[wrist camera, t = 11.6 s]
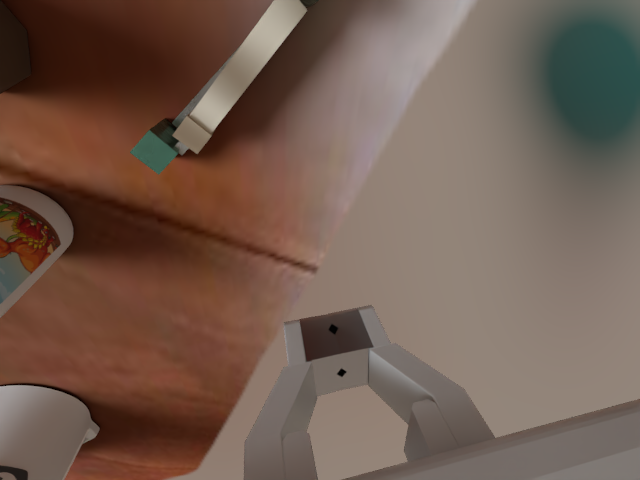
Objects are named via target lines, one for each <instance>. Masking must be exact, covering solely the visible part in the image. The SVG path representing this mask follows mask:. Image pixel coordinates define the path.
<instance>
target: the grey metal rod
mask: <svg viewBox="0 0 640 480" xmlns="http://www.w3.org/2000/svg"><path fill="white" fill-rule="evenodd" d="M241 45H242V44H241ZM241 45H240V46H241ZM240 46H239V47H240ZM238 49H239V48H238ZM238 49H237V50H238ZM237 50H236V51H235V52H234V53H233V54H232V55H231V57H230V58H229V59H228V60H227V61H226V62H225V63H224V64H223V66H222V67H221V68H220V69H219V70H218V71H217V72H216V74H215V75H214V76H213V77H212V78H211V79H210V80H209V81H208V83H207V84H206V85H205V86H204V87H203V88H202V89H201V90H200V92H199V93H198V94H197V95H196V96H195V97H194V98H193V99H192V101H191V102H190V103H189V104H188V105H187V106H186V107H185V108H184V110H183V111H182V112H181V113H180V114H179V115H178V116H177V117H176V119H175V120H174V121H173V122H172V124H173V125H174V126H176V127H177V128H178V127H179V126H180V124H181V123H182V121H183V120H184V119H185V117H186V116H187V115H188V114H189V113H190V112H191V111H192V110H193V109H194V108H195V107H196V106H197V104H198V103H199V102H200V100H201V99H202V98H203V96H204V95H205V94H206V92H207V91H208V89H209V88H210V87H211V85H212V84H213V83H214V81H215V80H216V79H217V77H218V76H219V75H220V73H221V72H222V70H223V69H224V68H225V66H226V65H227V64H228V62H229V61H230V60H231V58H232V57H233V56H234V54H235V53H236V52H237Z"/></svg>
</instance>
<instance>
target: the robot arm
mask: <svg viewBox="0 0 640 480" xmlns="http://www.w3.org/2000/svg"><path fill="white" fill-rule="evenodd" d="M299 321H300V322H299ZM284 333H285V342H286V351H287V359H288V366H287V367H284V368H283V370H282V372H281V374H280V375H279V377H278V379H277V381H276V383H275V385H274V387H273V389H272V391H271V393H270V395H269V397H268V398H267V400H266V402H265V404H264V406H263V408H262V410H261V412H260V414H259V416H258V418H257V420H256V422H255V424H254V425H253V428H252V429H251V431H250V433H249V435H248V437H247V439H246V441H245V453H244V454H245V455H244V480H318V478H317V472H316V467H315V462H314V457H313V451H312V446H311V441H310V436H309V433H307V432H306V431H307V428H308V425H309V422H310V419H311V416H312V413H313V410H314V407H315V404H316V401H317V396H320V395H324V394H328V393H331V392H336V391H339V390H343V389H348V388H353V387H358V386H363V385H369V387H370V388H371V389H372V390H373V391H374V392H375V393H376V394H378V396H380V398H382V400H383V401H385V402H386V403H387V404H388V405H389V406H390V407H391V408H392V409H393V410H394V411H395V412H396V413H397V414H398V415H399V416H400V417H401V418H402V419H403V420H404V421H405V422H406V423H407V424H408V431H407V436H406V441H405V446H404V452H405V454H406V457H407V460H408V462H405V463H402V464H398V465H394V466H390V467H387V468H383V469H380V470H376V471H372V472H368V473H365V474H361V475H358V476H354V477H350V478H346V479H343V480H640V399H638V400H634V401H631V402H627V403H623V404H619V405H616V406H612V407H608V408H605V409H601V410H597V411H594V412H590V413H587V414H583V415H579V416H575V417H571V418H568V419H564V420H560V421H557V422H553V423H549V424H546V425H542V426H538V427H535V428H531V429H527V430H523V431H520V432H516V433H512V434H509V435H505V436H501V437H498V438H495V437H494V435H493V433H492V432H491V430H490V429H489V427H488V426H487V424H486V422H485V421H484V419H483V418H482V416H481V415H480V413H479V411H478V410H477V408H476V407H475V405H474V403H473V402H472V400H471V399H470V397H469V395H468V394H467V392H466V391H465V389H464V388H462V387H461V386H459V385H458V384H456V383H454V382H453V381H452V380H450V379H449V378H447V377H446V376H444V375H443V374H441V373H440V372H438V371H437V370H435V369H433V368H432V367H431V366H429V365H428V364H426V363H425V362H423V361H422V360H420V359H419V358H417V357H416V356H414V355H413V354H411V353H410V352H408V351H406V350H405V349H404V348H402V347H401V346H399V345H398V344H396V343H392V344H391V342H390V340H389V338H388V337H387V334H386V332H385V330H384V328H383V326H382V324H381V322H380V320H379V318H378V316H377V314H376V312H375V309H374V307H373V306H372V305H368V306H364V307H359V308H353V309H349V310H344V311H339V312H334V313H330V314H327V315H321V316H315V317H309V318H304V319H300V320H294V321H288V322H284ZM99 430H100V428H99V427H98V425H96V424H95V423H94V422H93V421H92V420H91V417H90V412H89V410H88V408H87V407H86V406H85V405H84V404H83V403H82V402H81V401H79V400H78V399H76V398H75V397H73V396H71V395H68V394H66V393H63V392H60V391H57V390H53V389H49V388H44V387H38V386H27V385H10V386H0V480H64V479H65V477H66V475H67V473H68V471H69V469H70V467H71V465H72V463H73V461H74V459H75V457H76V455H77V453H78V451H79V449H80V447H81V445H82V444H83V443H85V442H87V441H89V440H91V439H93V438H95V437H96V436H97V434H98V432H99Z"/></svg>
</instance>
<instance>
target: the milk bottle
mask: <svg viewBox="0 0 640 480" xmlns="http://www.w3.org/2000/svg"><path fill="white" fill-rule="evenodd" d="M72 239H73V225H72V221H71V220H70V218H69V216H68V214H67V213H66V212H65V211H64V209H63V208H62V207H61V206H60V205H59V204H57V203H56V202H55V201H54V200H52V199H51V198H49V197H48V196H46V195H44V194H42V193H40V192H38V191H35V190H32V189H30V188H25V187H21V186H12V185H0V318H1V317H2V316H3V315H4V314H5V313H6V312H7V311H8V310H9V309H10V308H11V307H12V306H13V305H14V304H15V303H16V301H17V300H18V299H19V298H20V297H21V296H22V295H23V294H24V293H25V292H26V291H27V290H28V289H29V288H30V287H31V286H32V285H33V284H34V283H35V282H36V281H37V280H38V279H39V278H40V277H41V276H42V275H43V274H44V273H45V271H46V270H47V269H48V268H49V267H50V266H51V265H52V264H53V263H54V262H55V261H56V260H57V259H58V258H59V257H60V256H61V255H62V254H63V253H64V251H65V250H66V249H67V248H68V247H69V245H70V244H71V242H72Z"/></svg>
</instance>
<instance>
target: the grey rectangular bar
mask: <svg viewBox="0 0 640 480" xmlns="http://www.w3.org/2000/svg"><path fill="white" fill-rule="evenodd" d="M306 12H307V9H306V8H305V7H304V5H303V4H302V3H301V2H300V0H274V1H273V3H272V4H271V5H270V7H269V8H268V9H267V11H266V12H265V14H264V15H263V16H262V18H261V19H260V20H259V22H258V23H257V24H256V26H255V27H254V28H253V30H252V31H251V33H250V34H249V35H248V37H247V38H246V39H245V41H244V42H243V43H242V45H241V46H240V47H239V49H238V50H237V52H236V53H235V54H234V56H233V57H232V58H231V60H230V61H229V62H228V64H227V65H226V66H225V68H224V69H223V70H222V72H221V73H220V75H219V76H218V77H217V79H216V80H215V81H214V83H213V84H212V85H211V87H210V88H209V89H208V91H207V92H206V94H205V95H204V96H203V98H202V99H201V100H200V102H199V103H198V104H197V106H196V107H195V108H194V109H193V110H192V111H191V112H190V113H189V114H188V115H187V116H186V117H185V119H184V120H183V121H182V123H181V124H180V126H179V127H178V128H177V130H176V131H175V132H174V134H173V135H172V136H173V137H175V138H176V139H177V140H179V141H180V142H181V143H183V144H184V145H186V146H187V147H188V148H190V149H191V150H192V151H194V152H195V153H196V154H198V153H199V151H200V150H201V149H202V148H203V146H204V145H205V144H206V143H207V141H208V140H209V139H210V137H211V136H212V134H213V132H214V131H215V129H216V127H217V126H218V124H219V123H220V122H221V121H222V119H223V118H224V117H225V115H226V114H227V113H228V112H229V110H230V109H231V108H232V106H233V105H234V104H235V103H236V101H237V100H238V99H239V97H240V96H241V95H242V94H243V92H244V91H245V90H246V89H247V87H248V86H249V85H250V83H251V82H252V81H253V80H254V78H255V77H256V76H257V74H258V73H259V72H260V71H261V69H262V68H263V67H264V65H265V64H266V63H267V62H268V60H269V59H270V58H271V57H272V55H273V54H274V53H275V51H276V50H277V49H278V48H279V46H280V45H281V44H282V42H283V41H284V40H285V39H286V37H287V36H288V35H289V33H290V32H291V31H292V30H293V28H294V27H295V26H296V25H297V23H298V22H299V21H300V19H301V18H302V17H303V16H304V14H305V13H306Z"/></svg>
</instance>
